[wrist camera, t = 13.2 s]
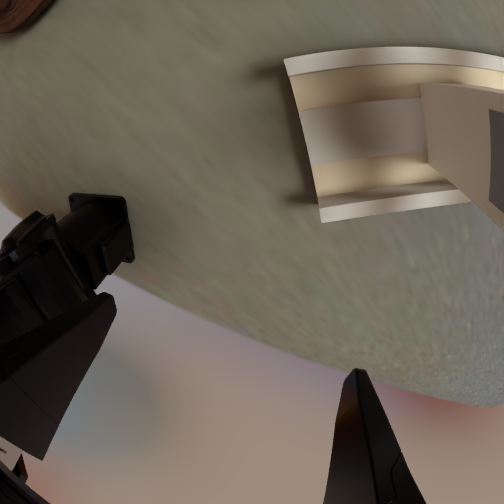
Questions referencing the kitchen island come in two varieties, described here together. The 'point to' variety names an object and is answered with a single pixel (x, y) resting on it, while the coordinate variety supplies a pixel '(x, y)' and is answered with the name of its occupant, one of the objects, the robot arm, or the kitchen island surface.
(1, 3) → the wooden figurine
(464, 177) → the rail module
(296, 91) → the mounting rail
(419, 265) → the kitchen island surface
